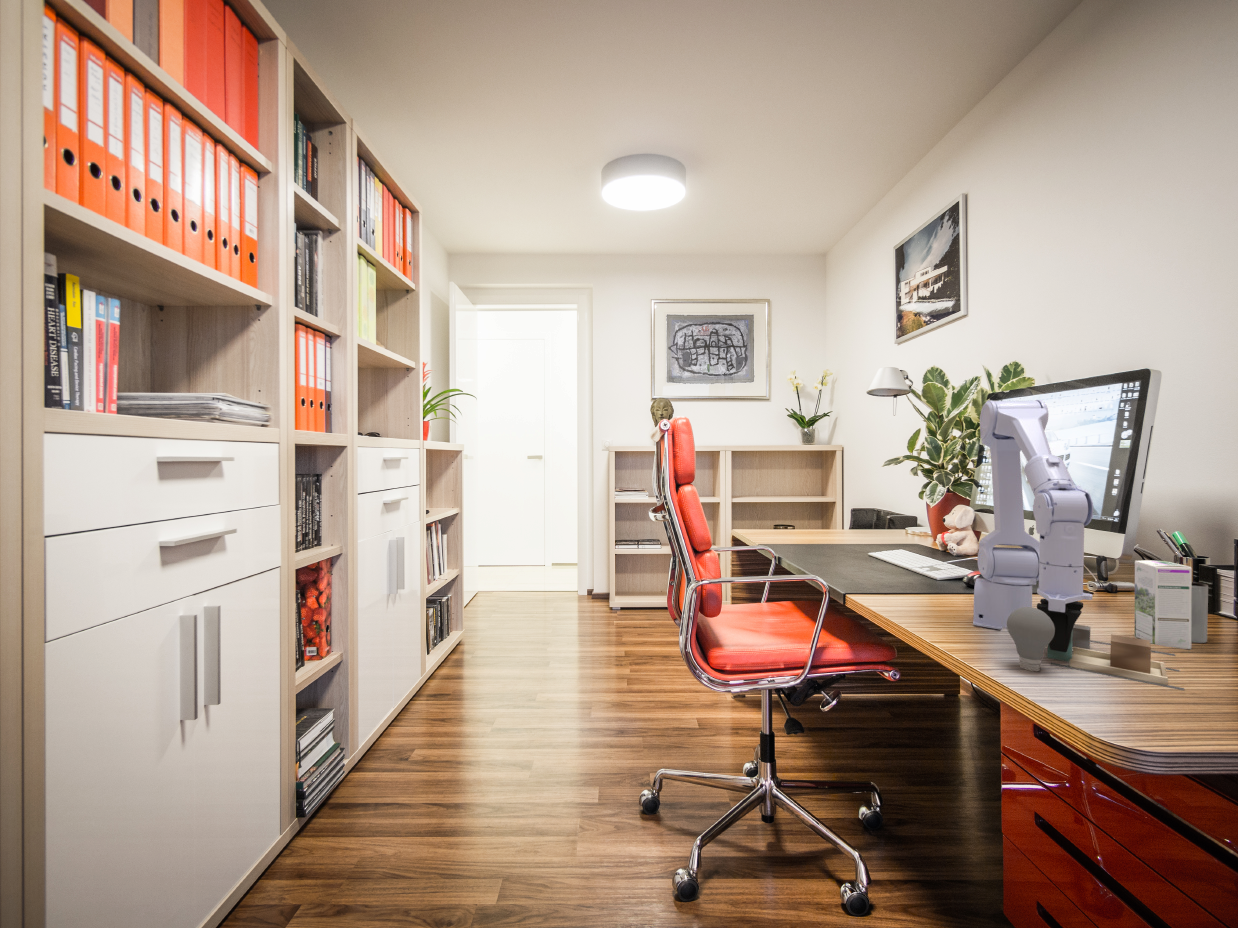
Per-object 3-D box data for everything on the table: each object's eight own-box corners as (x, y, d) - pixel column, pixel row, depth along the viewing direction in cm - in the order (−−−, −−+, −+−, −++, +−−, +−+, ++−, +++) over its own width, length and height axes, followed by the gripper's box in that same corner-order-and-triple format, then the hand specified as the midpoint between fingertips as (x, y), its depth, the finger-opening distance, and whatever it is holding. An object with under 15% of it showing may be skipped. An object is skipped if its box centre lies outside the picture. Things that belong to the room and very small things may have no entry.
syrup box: (1193, 649, 101) (1194, 566, 100) (1153, 647, 102) (1155, 564, 102) (1169, 639, 106) (1170, 560, 106) (1131, 637, 107) (1133, 559, 107)
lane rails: (1050, 668, 91) (1050, 663, 91) (1060, 639, 106) (1060, 635, 106) (1184, 695, 81) (1184, 689, 81) (1174, 658, 96) (1175, 654, 96)
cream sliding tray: (1045, 665, 92) (1046, 624, 92) (1050, 652, 98) (1051, 613, 98) (1167, 689, 83) (1168, 643, 82) (1164, 672, 89) (1165, 630, 89)
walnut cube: (1110, 670, 88) (1110, 640, 88) (1110, 662, 92) (1111, 634, 91) (1150, 677, 85) (1150, 647, 85) (1149, 669, 89) (1149, 640, 89)
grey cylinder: (1165, 635, 109) (1166, 580, 109) (1187, 635, 109) (1188, 580, 109) (1191, 643, 104) (1192, 586, 104) (1214, 642, 105) (1215, 585, 104)
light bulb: (1045, 668, 91) (1046, 604, 91) (1060, 682, 85) (1061, 614, 85) (1000, 663, 93) (1002, 601, 92) (1012, 676, 87) (1014, 610, 87)
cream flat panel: (1065, 653, 98) (1066, 630, 98) (1069, 642, 104) (1069, 619, 104) (1176, 674, 89) (1177, 648, 89) (1173, 659, 95) (1173, 635, 95)
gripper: (1091, 573, 86) (1089, 665, 86) (1094, 561, 97) (1092, 642, 97) (1032, 567, 90) (1031, 654, 90) (1042, 556, 101) (1040, 633, 101)
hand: (1059, 647), depth 94 cm, fingers closed on cream sliding tray, 3 cm apart
